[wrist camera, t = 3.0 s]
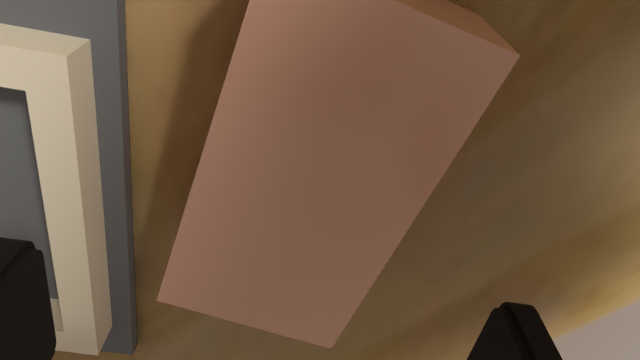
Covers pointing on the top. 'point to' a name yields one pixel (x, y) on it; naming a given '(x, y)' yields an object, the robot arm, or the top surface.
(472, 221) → the top surface
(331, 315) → the salmon pink brick
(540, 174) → the top surface
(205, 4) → the top surface
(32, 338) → the robot arm
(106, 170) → the pocket mat
